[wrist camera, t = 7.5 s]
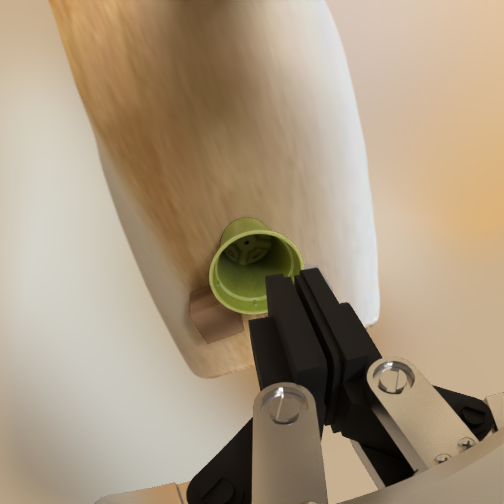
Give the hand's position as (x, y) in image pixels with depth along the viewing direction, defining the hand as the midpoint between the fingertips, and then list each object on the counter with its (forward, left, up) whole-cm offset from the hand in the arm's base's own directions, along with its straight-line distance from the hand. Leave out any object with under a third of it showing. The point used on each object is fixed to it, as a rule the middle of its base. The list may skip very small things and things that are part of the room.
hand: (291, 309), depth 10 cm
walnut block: (+18, -4, -28) cm, 33 cm away
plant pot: (+10, +1, -28) cm, 29 cm away
